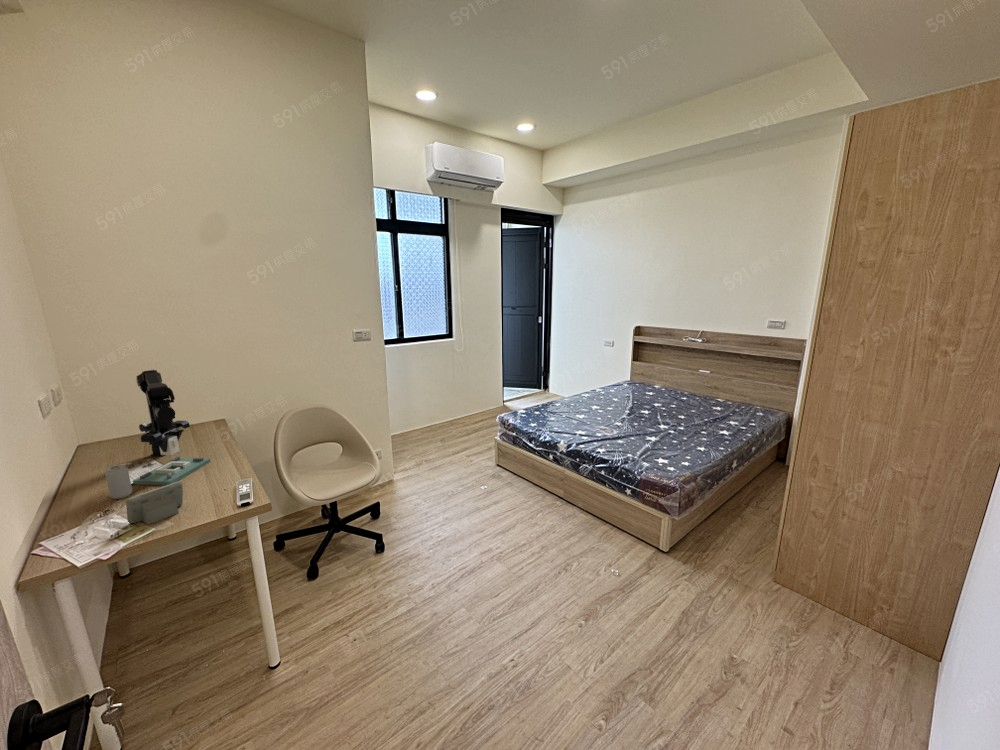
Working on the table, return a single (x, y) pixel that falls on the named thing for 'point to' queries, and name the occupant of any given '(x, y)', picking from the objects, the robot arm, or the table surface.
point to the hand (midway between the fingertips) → (169, 449)
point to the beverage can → (118, 481)
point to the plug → (171, 445)
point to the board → (171, 471)
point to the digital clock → (155, 504)
